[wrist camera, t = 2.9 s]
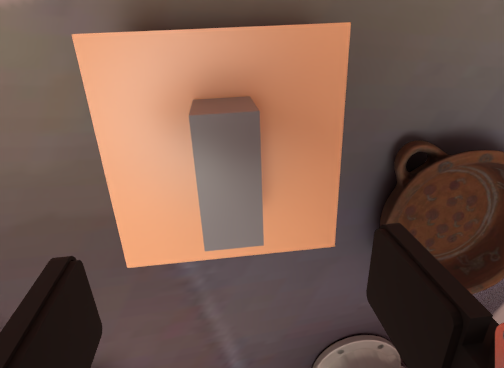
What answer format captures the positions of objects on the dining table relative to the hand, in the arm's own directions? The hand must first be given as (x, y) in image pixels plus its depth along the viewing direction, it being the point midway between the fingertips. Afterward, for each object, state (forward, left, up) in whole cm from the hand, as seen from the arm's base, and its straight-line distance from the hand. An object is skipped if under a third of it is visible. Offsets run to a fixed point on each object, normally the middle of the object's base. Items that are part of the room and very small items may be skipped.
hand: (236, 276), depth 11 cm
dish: (-24, +12, -23) cm, 36 cm away
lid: (0, 0, -15) cm, 15 cm away
